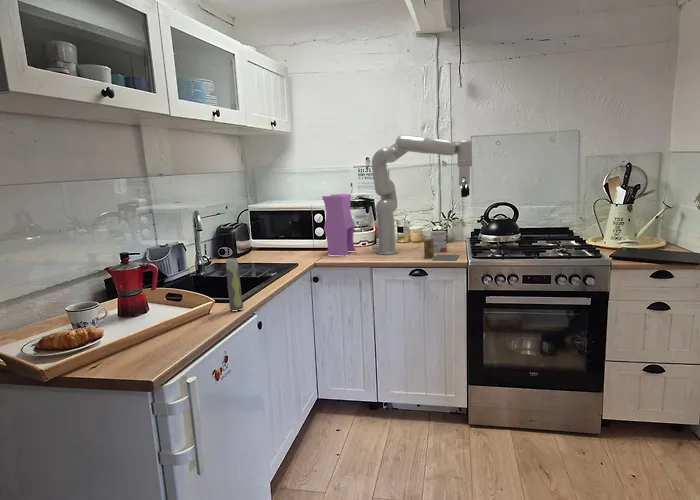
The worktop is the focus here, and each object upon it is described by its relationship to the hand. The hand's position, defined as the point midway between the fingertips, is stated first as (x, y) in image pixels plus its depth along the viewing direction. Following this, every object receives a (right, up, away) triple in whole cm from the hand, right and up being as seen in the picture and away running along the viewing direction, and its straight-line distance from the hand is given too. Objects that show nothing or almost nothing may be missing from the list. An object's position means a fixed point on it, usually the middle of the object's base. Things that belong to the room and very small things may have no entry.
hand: (465, 196), depth 257 cm
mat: (-11, -33, -4) cm, 35 cm away
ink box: (-11, -30, +16) cm, 36 cm away
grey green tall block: (-105, -52, -78) cm, 140 cm away
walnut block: (-20, -33, -1) cm, 39 cm away
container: (-67, -32, +26) cm, 79 cm away
